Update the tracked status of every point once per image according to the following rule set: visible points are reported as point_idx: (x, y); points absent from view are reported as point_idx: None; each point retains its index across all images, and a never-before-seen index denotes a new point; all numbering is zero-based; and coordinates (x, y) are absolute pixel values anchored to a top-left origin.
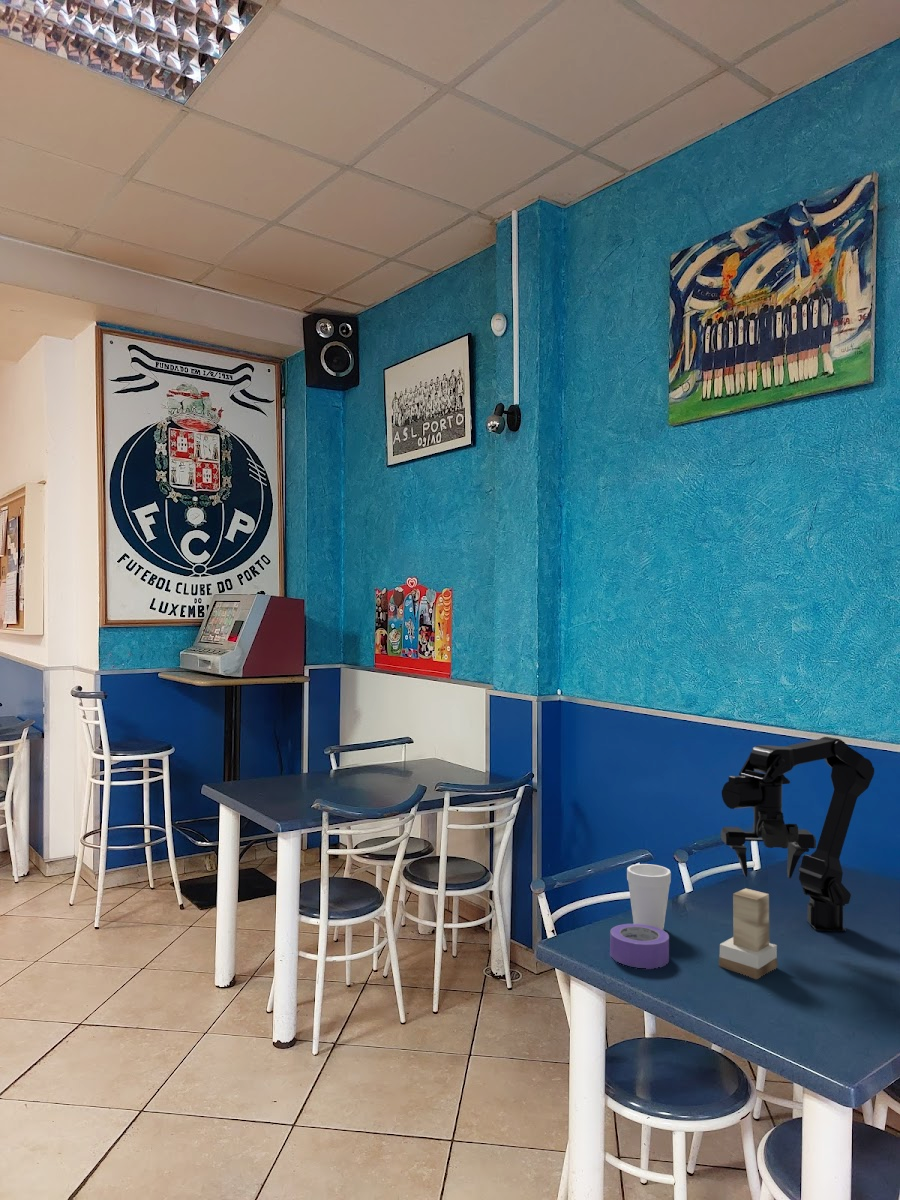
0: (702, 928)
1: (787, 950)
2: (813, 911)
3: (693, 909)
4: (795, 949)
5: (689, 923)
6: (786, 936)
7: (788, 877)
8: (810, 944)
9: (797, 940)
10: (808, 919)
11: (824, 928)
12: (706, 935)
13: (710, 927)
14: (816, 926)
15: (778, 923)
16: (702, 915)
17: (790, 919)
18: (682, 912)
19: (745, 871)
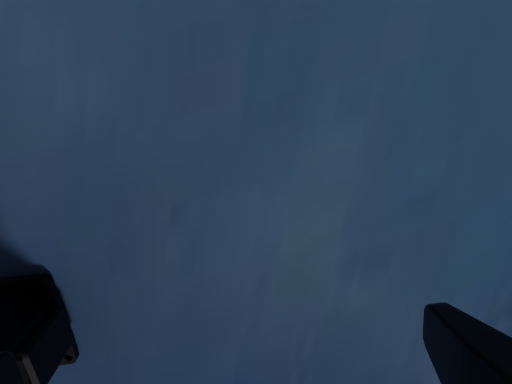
0: (467, 207)
1: (169, 42)
2: (26, 341)
3: None
4: (136, 63)
5: (502, 245)
6: (161, 199)
7: (15, 367)
8: (74, 136)
9: (122, 168)
10: (67, 334)
11: (16, 286)
12: (472, 137)
13: (433, 224)
14: (45, 298)
15: (178, 315)
16: None
17: (135, 358)
18: None
19: (479, 332)
